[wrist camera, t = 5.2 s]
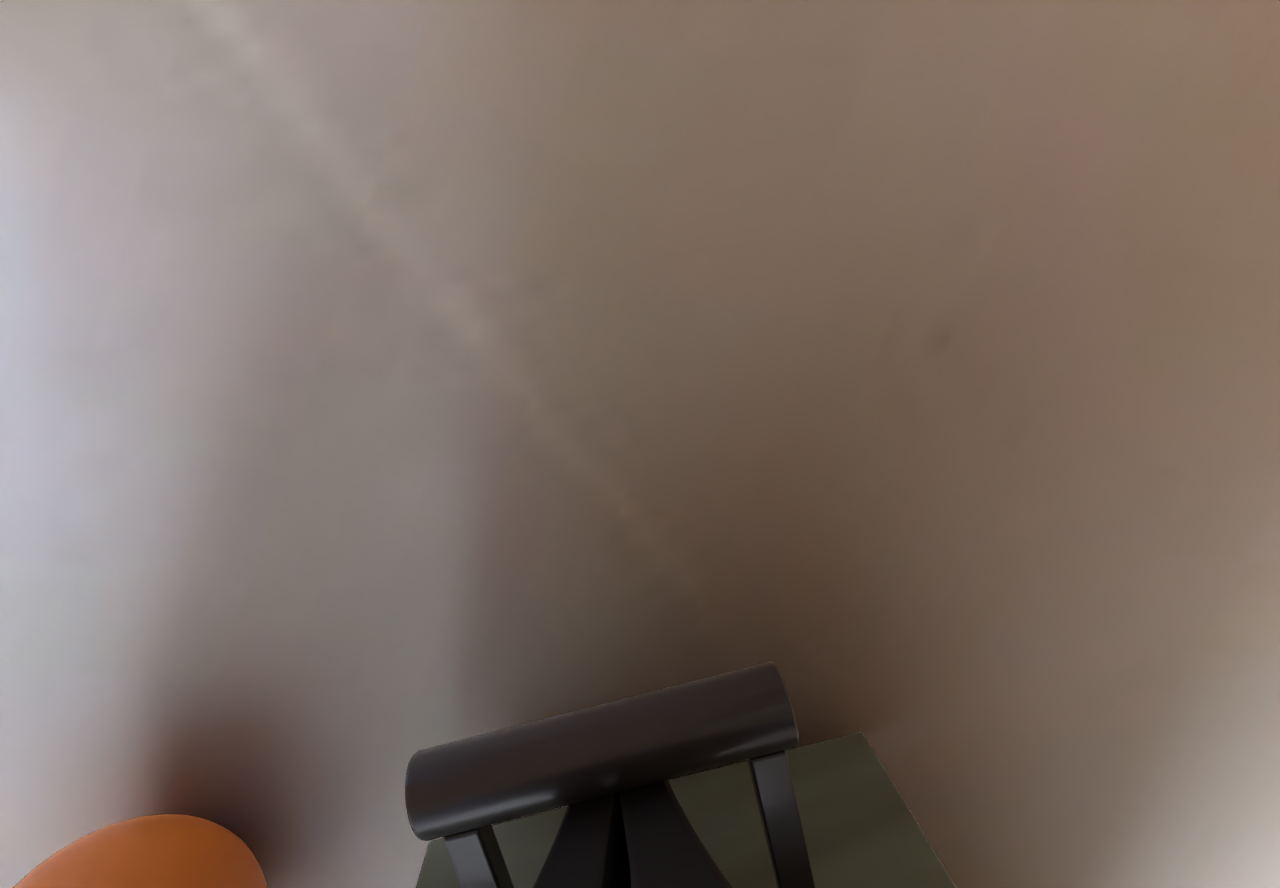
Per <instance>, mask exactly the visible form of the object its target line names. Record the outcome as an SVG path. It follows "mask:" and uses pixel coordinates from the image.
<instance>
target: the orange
mask: <svg viewBox="0 0 1280 888" xmlns="http://www.w3.org/2000/svg"><path fill="white" fill-rule="evenodd" d="M13 888H267V885H266V880H265V877H264V874H263V872H262V869H261V867H260V865H259V863H258V861H257V860H256V858H255V856H254V854H253V853H252V851H251V850H250V849H249V848H248V846H247V845H246V844H245V843H244V842H243V841H242V840H241V839H240V838H239V837H237V836H236V835H235V834H234V833H232V832H231V831H229V830H227V829H226V828H224V827H223V826H220V825H218V824H216V823H214V822H212V821H209V820H206V819H203V818H199V817H195V816H190V815H182V814H160V815H148V816H142V817H137V818H133V819H129V820H125V821H121V822H118V823H115V824H112V825H109V826H106V827H104V828H102V829H99V830H97V831H95V832H92V833H90V834H88V835H86V836H84V837H81V838H80V839H78V840H76V841H75V842H73V843H71V844H69V845H68V846H66V847H64V848H63V849H61V850H59V851H58V852H56V853H55V854H53V855H52V856H50V857H49V858H48V859H46V860H45V861H44V862H42V863H41V864H40V865H38V866H37V867H36V868H35V869H33V870H32V871H31V872H30V873H29V874H27V875H26V876H25V877H24V878H23V879H22V880H21V881H20V882H19V883H17V884H16V885H15V886H14V887H13Z"/></svg>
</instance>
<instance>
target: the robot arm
mask: <svg viewBox="0 0 1280 888" xmlns="http://www.w3.org/2000/svg"><path fill="white" fill-rule="evenodd" d="M533 888H733V887H732V886H731V885H730V883H729V882H728V881H727V879H726V878H725V877H724V875H723V874H722V872H721V871H720V870H719V868H718V867H717V865H716V864H715V862H714V861H713V859H712V858H711V856H710V855H709V853H708V852H707V850H706V848H705V847H704V845H703V844H702V842H701V841H700V839H699V837H698V836H697V834H696V832H695V831H694V829H693V827H692V826H691V824H690V822H689V820H688V819H687V817H686V815H685V813H684V811H683V809H682V807H681V806H680V804H679V802H678V800H677V798H676V796H675V794H674V792H673V790H672V788H671V785H670V783H669V781H668V780H664V781H660V782H656V783H652V784H648V785H644V786H640V787H636V788H632V789H629V790H625V791H621V792H617V793H613V794H609V795H605V796H601V797H597V798H593V799H589V800H585V801H581V802H577V803H573V804H570V805H568V807H567V810H566V812H565V815H564V818H563V820H562V823H561V825H560V827H559V830H558V832H557V835H556V837H555V840H554V842H553V844H552V847H551V849H550V852H549V854H548V856H547V859H546V861H545V863H544V865H543V867H542V869H541V871H540V873H539V876H538V878H537V880H536V882H535V884H534V886H533Z"/></svg>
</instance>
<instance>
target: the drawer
mask: <svg viewBox="0 0 1280 888" xmlns="http://www.w3.org/2000/svg"><path fill="white" fill-rule="evenodd" d="M798 745H799V732H798V727H797V722H796V718H795V714H794V711H793V707H792V704H791V700H790V697H789V694H788V691H787V688H786V685H785V682H784V680H783V677H782V675H781V673H780V671H779V669H778V667H777V665H776V664H775V663H774V662H767V663H763V664H759V665H755V666H751V667H747V668H743V669H739V670H735V671H731V672H727V673H724V674H720V675H716V676H712V677H708V678H704V679H700V680H696V681H692V682H688V683H684V684H680V685H676V686H672V687H668V688H664V689H660V690H656V691H652V692H648V693H644V694H640V695H636V696H633V697H629V698H625V699H621V700H617V701H613V702H609V703H605V704H601V705H597V706H593V707H589V708H585V709H581V710H577V711H573V712H569V713H565V714H561V715H557V716H553V717H549V718H546V719H542V720H538V721H534V722H530V723H526V724H522V725H518V726H514V727H510V728H506V729H502V730H498V731H494V732H490V733H486V734H482V735H478V736H474V737H470V738H466V739H462V740H459V741H455V742H451V743H447V744H443V745H439V746H435V747H431V748H427V749H423V750H419V751H418V752H416V753H415V754H414V755H413V756H412V758H411V760H410V762H409V765H408V768H407V773H406V781H405V800H406V809H407V814H408V818H409V822H410V825H411V828H412V830H413V832H414V833H415V835H416V836H417V837H418V838H419V839H421V840H424V841H428V840H432V839H436V838H440V837H444V838H441V839H437V840H433V841H431V842H430V843H429V845H428V848H427V851H426V855H425V858H424V861H423V865H422V868H421V871H420V875H419V878H418V881H417V885H416V888H533V886H534V884H535V882H536V880H537V878H538V876H539V873H540V871H541V869H542V867H543V865H544V863H545V861H546V859H547V856H548V854H549V852H550V849H551V847H552V844H553V842H554V840H555V837H556V835H557V832H558V830H559V827H560V825H561V823H562V820H563V818H564V815H565V812H566V810H567V807H568V806H567V807H563V808H559V809H555V810H551V811H547V812H544V813H540V814H536V815H532V816H528V817H524V818H520V819H516V820H512V821H508V822H504V823H500V824H496V825H491V824H495V823H499V822H503V821H507V820H511V819H514V818H518V817H522V816H526V815H530V814H534V813H538V812H542V811H546V810H550V809H554V808H558V807H562V806H566V805H570V804H573V803H577V802H581V801H585V800H589V799H593V798H597V797H601V796H605V795H609V794H613V793H617V792H621V791H625V790H629V789H632V788H636V787H640V786H644V785H648V784H652V783H656V782H660V781H664V780H668V779H672V778H676V777H680V776H684V775H688V774H691V773H695V772H699V771H703V770H707V769H711V768H715V767H719V766H723V765H727V764H731V763H735V762H739V761H743V760H748V761H744V762H740V763H736V764H732V765H728V766H724V767H721V768H717V769H713V770H709V771H705V772H701V773H697V774H693V775H689V776H685V777H681V778H677V779H673V780H669V783H670V785H671V788H672V790H673V792H674V794H675V796H676V798H677V800H678V802H679V804H680V806H681V807H682V809H683V811H684V813H685V815H686V817H687V819H688V820H689V822H690V824H691V826H692V827H693V829H694V831H695V832H696V834H697V836H698V837H699V839H700V841H701V842H702V844H703V845H704V847H705V848H706V850H707V852H708V853H709V855H710V856H711V858H712V859H713V861H714V862H715V864H716V865H717V867H718V868H719V870H720V871H721V872H722V874H723V875H724V877H725V878H726V879H727V881H728V882H729V883H730V885H731V886H732V887H733V888H957V887H956V885H955V884H954V882H953V880H952V879H951V877H950V876H949V874H948V872H947V871H946V869H945V867H944V866H943V864H942V862H941V861H940V859H939V857H938V856H937V854H936V852H935V851H934V849H933V847H932V846H931V844H930V842H929V841H928V839H927V837H926V836H925V834H924V833H923V831H922V829H921V828H920V826H919V824H918V823H917V821H916V819H915V818H914V816H913V814H912V813H911V811H910V809H909V808H908V806H907V804H906V803H905V801H904V799H903V798H902V796H901V794H900V793H899V791H898V789H897V788H896V786H895V785H894V783H893V781H892V780H891V778H890V776H889V775H888V773H887V771H886V770H885V768H884V766H883V765H882V763H881V761H880V760H879V758H878V756H877V755H876V753H875V751H874V750H873V748H872V746H871V745H870V743H869V741H868V740H867V738H866V737H865V735H864V733H862V732H858V733H854V734H850V735H846V736H842V737H839V738H835V739H831V740H827V741H823V742H819V743H815V744H811V745H807V746H803V747H799V748H795V749H791V750H787V751H786V749H790V748H794V747H797V746H798Z"/></svg>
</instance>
